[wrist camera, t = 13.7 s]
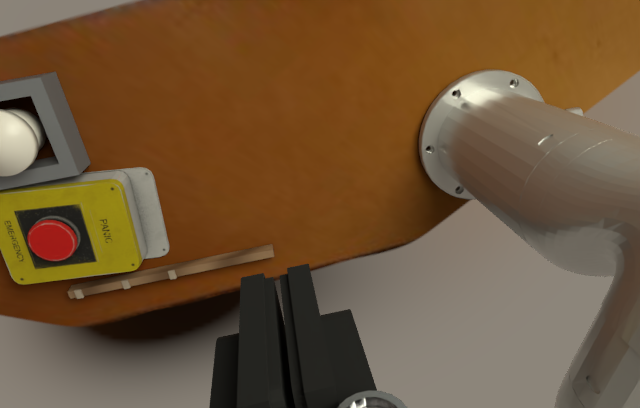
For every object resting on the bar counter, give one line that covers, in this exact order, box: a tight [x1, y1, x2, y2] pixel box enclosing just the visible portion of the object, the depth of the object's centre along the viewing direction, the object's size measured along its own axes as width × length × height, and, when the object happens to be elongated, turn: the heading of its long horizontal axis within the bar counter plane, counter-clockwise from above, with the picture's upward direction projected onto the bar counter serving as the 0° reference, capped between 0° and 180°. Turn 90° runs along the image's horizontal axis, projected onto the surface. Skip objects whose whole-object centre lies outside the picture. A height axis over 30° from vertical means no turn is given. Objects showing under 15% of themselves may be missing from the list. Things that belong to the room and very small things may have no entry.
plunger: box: [0, 108, 46, 176], centre depth 36 cm, size 5×5×4 cm
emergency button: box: [0, 167, 169, 285], centre depth 42 cm, size 9×4×15 cm
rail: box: [68, 244, 274, 299], centre depth 46 cm, size 20×1×1 cm, turn 99°
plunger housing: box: [0, 72, 91, 190], centre depth 38 cm, size 8×8×3 cm
